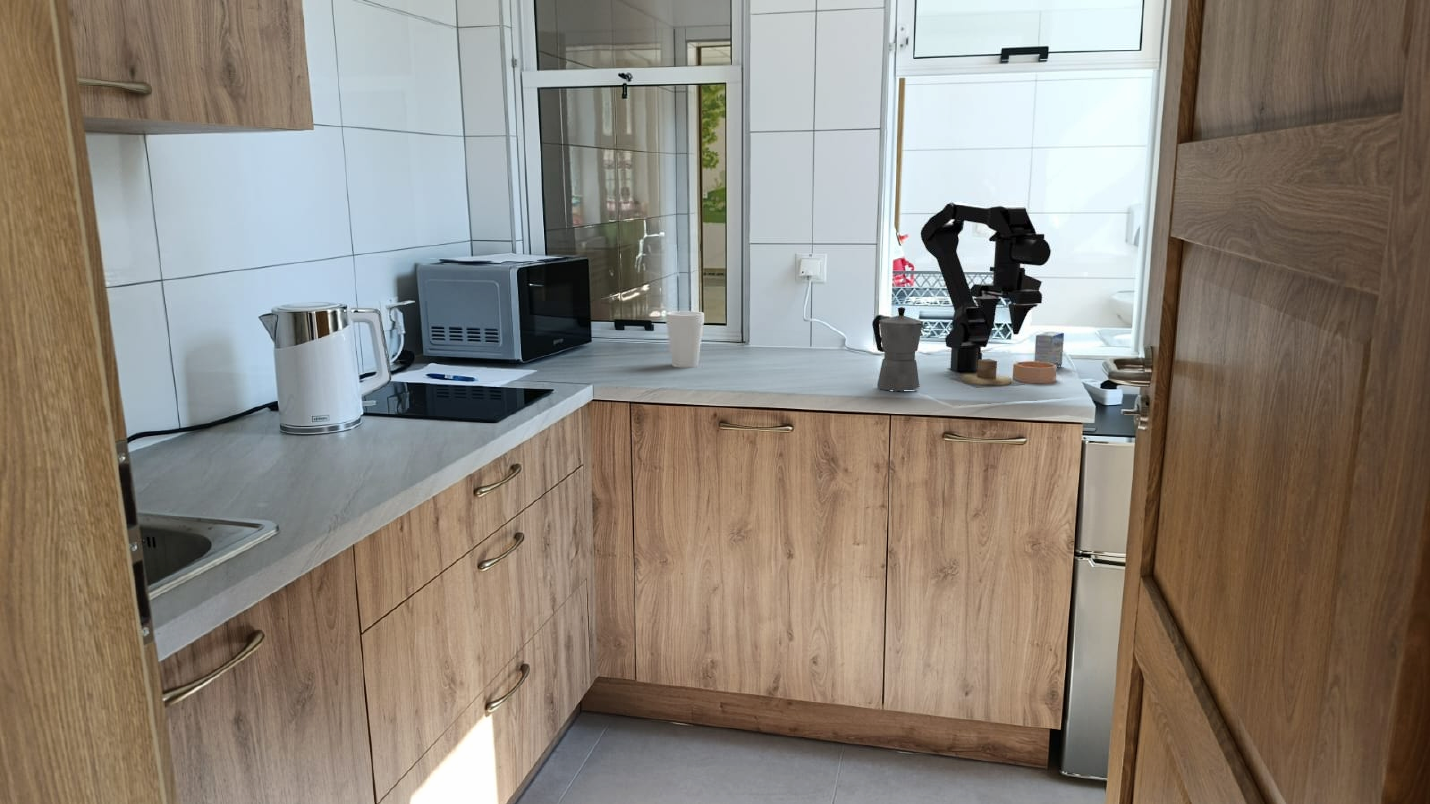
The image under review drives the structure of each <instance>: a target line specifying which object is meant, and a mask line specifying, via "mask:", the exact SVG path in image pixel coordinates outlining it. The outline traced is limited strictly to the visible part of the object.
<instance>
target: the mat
mask: <svg viewBox="0 0 1430 804" xmlns="http://www.w3.org/2000/svg"><path fill="white" fill-rule="evenodd" d="M961 378H962V376H958V377H949V379H950V380H953V381H956V382H959V383H962V384H964V385H968V386H971V387H974V388H977V389H978V388H979V389H980V388H984V389H985V388H996V387H997V388H998V387H1010V386H1011V387H1012V386H1015V387H1016V386H1025V384H1024V383H1022V382H1021V383H1020V382H1019V381H1015V380H1012V381H1011V384H1008V385H1002V386H983V385H974V384H969V383H965V382H963V381H962V380H961Z"/></svg>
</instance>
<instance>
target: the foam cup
mask: <svg viewBox="0 0 1430 804" xmlns="http://www.w3.org/2000/svg"><path fill="white" fill-rule="evenodd" d="M665 324H666V327H667V328H666V329H667V333H668V334H667V336H668V343H669V349H670V357H671V358H670V359H671V364H672V367H675V368H679V369H680V368H682V369H683V368H686V369H687V368H695V367H696V368H697V367H698V366H699V359H700V353H701V352H700V351H701V342H702V336H703V328H704V324H705V312H702V311H693V310H673V311H668V312H665Z"/></svg>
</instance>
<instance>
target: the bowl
mask: <svg viewBox="0 0 1430 804" xmlns="http://www.w3.org/2000/svg"><path fill="white" fill-rule="evenodd" d="M1012 365H1013V367H1012V368H1013V369H1012V380H1014V381H1016V382H1021V383H1029V384H1050V383H1051V384H1053V383H1054V382H1056V381H1057V373H1058V372H1057V371H1058V368H1057V365H1055V364H1051V363H1047V362H1035V361H1032V360H1028V361H1027V360H1026V361H1016V362H1014V363H1013V364H1012Z"/></svg>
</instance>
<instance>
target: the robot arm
mask: <svg viewBox="0 0 1430 804" xmlns="http://www.w3.org/2000/svg"><path fill="white" fill-rule="evenodd" d="M951 221H952V222H951ZM965 222H969V223H976V224H981V225H986V226H987V228H988V229H990V230H993V231H994V232H995V233H994V234H992V235H990V237H989V238H988V240H989V242H993V243H994V242H995V245H994V257H993V258H994V259H993V260H994V261H993V262H994V263H993V266H989V272H993V276H992V277H993V279H992V283H975V284H973V285H972V286H971V287H969V283H968V280H967V278H966V275H965V272H964V268H963V266H962V264H961V261H960V258H959V255H958V253H957V252H958V251H957V250H958V246H959V242H960V239H959V235H960V233H961V232H962V231H963V229H964V225H965V224H964V223H965ZM920 238H921V241H922V243H923V245H924V247H925V249H926V251H927V252H929V253H930V255H932V256H933V257H934V258H935V260H936V261H937V264H938V267H939V269H940V273H941V276H942V278H943V281H944V285H945V287H946V290H947V294H948V296H949V298H950V301H951V304H952V307H953V311H954V313H953V316H952V320H951V324H952V325H951V326H952V329H951V330H950V332H949V333H948V334H947V335H946V336H945V338H944V340H945V346H946V347H947V348H951V352H950V365H949V367H947V368H946V370H949V371H952V372H955V373H958V374H976V373H977V370H978V360H981V359H983V353H982V350H981V349H982V348H986V347H987V346H988V343H989V339H990V337H991V333H992V331H993V329H994V325H995V320H996V310H997V305H998V304H999V303H1000V301H1001V300H1002V298H1003V299H1004V298H1005V299H1009V301H1010V303H1008V311H1009V317H1010V324H1011V329H1012V333H1013V335H1015V336H1016V335H1019V334H1020V331H1021V328H1022V326H1023V323H1024V321H1025V319H1026V317H1027V315H1028V313H1029V312H1030V311H1031V310H1032V309H1033V308H1037V306H1038V305H1040V304H1043V293H1042V292H1041V291H1040V289H1041V285H1042V284H1043V281H1041V280H1039V279H1037V278H1035V277H1033V276H1029V275H1027V274H1026V268H1025V267H1023V266H1022V267H1021V265H1029V266H1038V267H1041V266H1044V265H1045V264H1047V262H1048V261H1049V259H1050V257H1051V253H1052V252H1051V251H1052V250H1051V247H1050V244H1049V242H1048V241H1047V240H1046V239H1045V234H1044V233H1037V231H1036V229H1035V227H1034V225H1033V222H1032V220H1031V217H1030V216H1029V214H1028V211H1027V208H1026V207H1025V206H1023V205H997V206H991V207H990V206H985V205H984V206H983V205H976V204H970V203H966V202H949V203H947V204H945V206H944V207H943V209H941V210H939V212H937V213H935V214H934V215H932V216H930V218H929V219H928V220H927V222H925V224H924V225H923V227H922V228H921V230H920Z"/></svg>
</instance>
